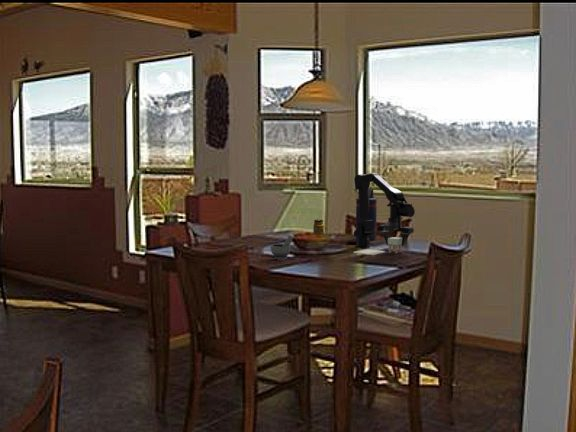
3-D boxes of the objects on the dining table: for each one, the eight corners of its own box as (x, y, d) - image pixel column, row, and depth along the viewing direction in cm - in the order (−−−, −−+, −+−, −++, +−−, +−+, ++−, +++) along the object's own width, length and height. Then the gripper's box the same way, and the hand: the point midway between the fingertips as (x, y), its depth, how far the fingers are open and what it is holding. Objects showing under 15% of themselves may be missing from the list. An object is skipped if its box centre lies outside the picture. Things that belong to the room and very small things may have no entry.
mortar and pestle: (270, 261, 336) (270, 236, 335) (270, 257, 346) (270, 233, 344) (294, 260, 337) (294, 236, 335) (293, 257, 346) (293, 233, 345)
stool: (387, 252, 361) (387, 238, 360) (393, 251, 365) (393, 237, 364) (396, 253, 357) (397, 239, 356) (402, 252, 361) (402, 238, 361)
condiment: (326, 240, 404) (326, 220, 403) (314, 241, 400) (314, 221, 398) (319, 239, 410) (319, 218, 409) (307, 240, 406) (307, 219, 404)
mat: (353, 252, 360) (353, 251, 360) (366, 250, 369) (366, 249, 369) (372, 255, 352) (372, 254, 352) (385, 252, 361) (385, 251, 361)
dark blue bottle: (356, 237, 416) (356, 187, 412) (376, 237, 414) (376, 187, 411) (355, 240, 402) (355, 189, 399) (376, 241, 400) (376, 189, 397)
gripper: (371, 215, 359) (371, 245, 360) (403, 218, 347) (402, 249, 349) (383, 213, 367) (383, 243, 369) (414, 216, 355) (414, 246, 357)
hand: (395, 245), depth 361 cm, fingers open, 9 cm apart
